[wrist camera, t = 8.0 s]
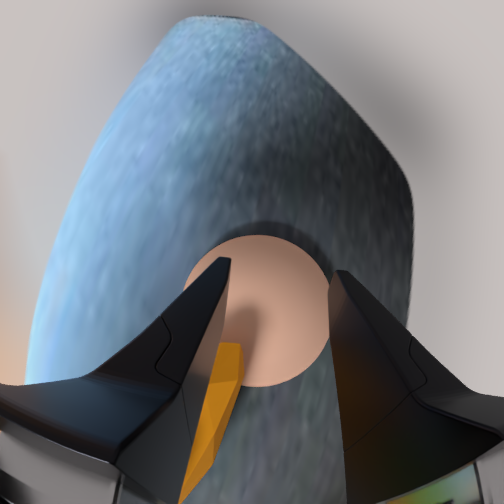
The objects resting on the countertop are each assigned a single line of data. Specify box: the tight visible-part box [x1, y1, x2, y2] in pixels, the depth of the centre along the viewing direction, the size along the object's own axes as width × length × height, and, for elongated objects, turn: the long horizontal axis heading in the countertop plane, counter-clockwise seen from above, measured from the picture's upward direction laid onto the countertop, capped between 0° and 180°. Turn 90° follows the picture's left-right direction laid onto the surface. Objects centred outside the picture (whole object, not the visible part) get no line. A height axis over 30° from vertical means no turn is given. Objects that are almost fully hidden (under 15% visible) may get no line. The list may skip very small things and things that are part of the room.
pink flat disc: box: [183, 235, 329, 387], centre depth 18 cm, size 9×9×1 cm
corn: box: [178, 342, 244, 504], centre depth 13 cm, size 7×8×20 cm
